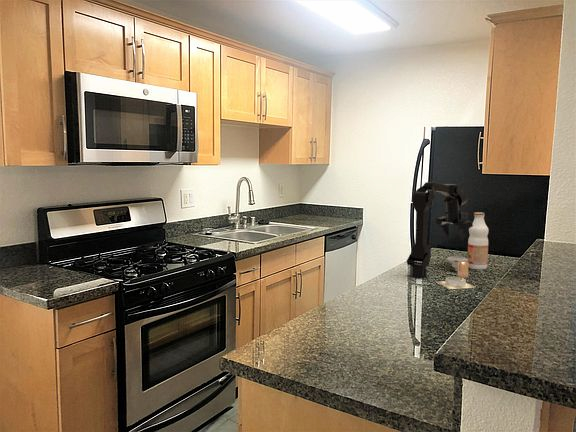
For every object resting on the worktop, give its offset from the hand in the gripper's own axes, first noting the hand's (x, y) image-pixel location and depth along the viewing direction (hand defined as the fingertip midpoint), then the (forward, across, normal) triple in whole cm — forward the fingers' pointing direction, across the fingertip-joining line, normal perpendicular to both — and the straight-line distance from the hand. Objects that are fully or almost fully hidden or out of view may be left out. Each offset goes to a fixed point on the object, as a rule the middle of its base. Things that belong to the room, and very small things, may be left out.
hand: (454, 238), depth 232 cm
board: (+8, -26, +30) cm, 41 cm away
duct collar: (+7, -26, +30) cm, 40 cm away
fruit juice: (+17, -6, -7) cm, 19 cm away
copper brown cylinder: (+11, -18, +17) cm, 27 cm away
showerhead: (+14, -5, +6) cm, 16 cm away
